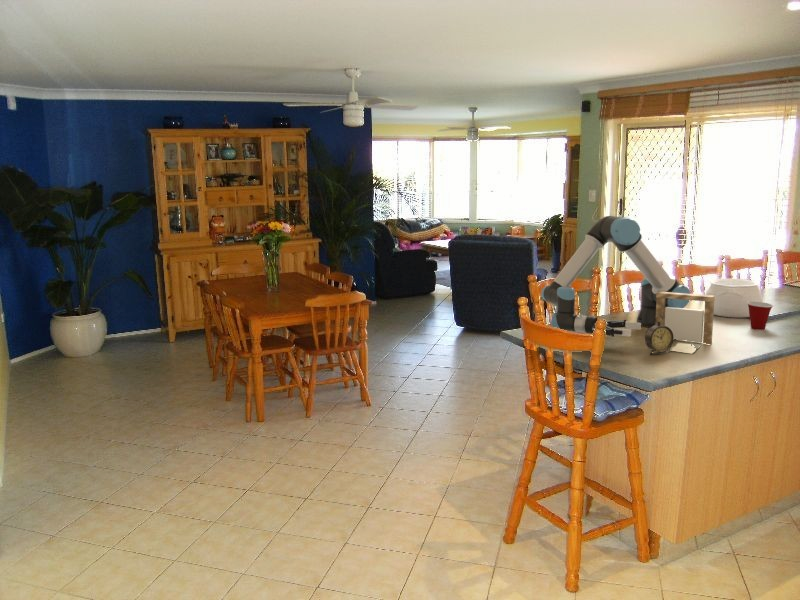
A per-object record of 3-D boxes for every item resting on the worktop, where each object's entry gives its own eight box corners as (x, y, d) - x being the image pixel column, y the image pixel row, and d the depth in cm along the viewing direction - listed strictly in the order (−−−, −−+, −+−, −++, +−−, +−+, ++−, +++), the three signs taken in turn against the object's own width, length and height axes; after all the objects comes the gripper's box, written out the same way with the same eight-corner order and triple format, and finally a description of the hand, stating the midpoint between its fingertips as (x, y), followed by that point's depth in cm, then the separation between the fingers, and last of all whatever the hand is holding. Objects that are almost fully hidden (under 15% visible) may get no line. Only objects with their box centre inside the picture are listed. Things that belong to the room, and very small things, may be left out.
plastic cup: (775, 331, 311) (776, 305, 309) (749, 331, 313) (750, 305, 311) (767, 325, 322) (769, 300, 319) (742, 325, 324) (744, 300, 322)
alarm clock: (650, 356, 280) (652, 317, 276) (642, 353, 285) (643, 314, 282) (673, 353, 282) (675, 315, 279) (665, 350, 288) (666, 312, 284)
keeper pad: (670, 351, 286) (670, 349, 285) (678, 343, 297) (678, 341, 297) (693, 354, 280) (693, 352, 280) (700, 346, 292) (701, 344, 291)
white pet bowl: (759, 321, 330) (761, 288, 327) (699, 317, 344) (701, 285, 341) (764, 309, 354) (766, 279, 351) (708, 306, 368) (710, 276, 365)
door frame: (654, 339, 305) (656, 292, 301) (657, 337, 309) (658, 291, 304) (710, 345, 292) (712, 297, 288) (712, 343, 295) (714, 295, 291)
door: (664, 338, 304) (665, 307, 301) (665, 337, 305) (666, 306, 303) (701, 342, 295) (702, 311, 292) (702, 341, 297) (703, 310, 294)
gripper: (576, 321, 289) (626, 327, 277) (597, 310, 309) (645, 315, 296) (575, 339, 290) (626, 345, 278) (596, 326, 310) (644, 332, 298)
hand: (636, 329), depth 287 cm, fingers open, 13 cm apart
